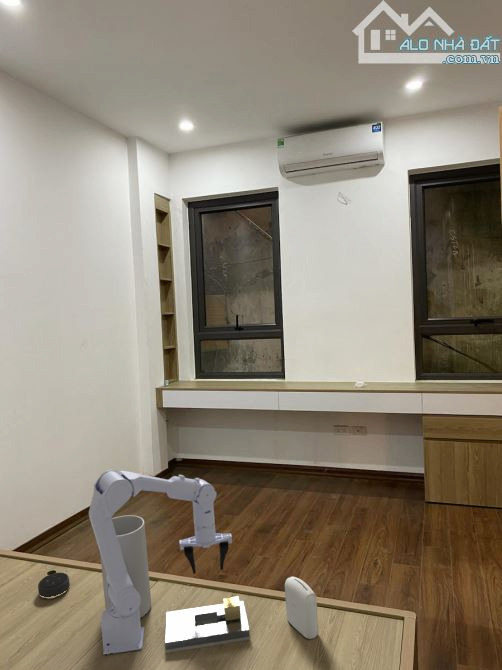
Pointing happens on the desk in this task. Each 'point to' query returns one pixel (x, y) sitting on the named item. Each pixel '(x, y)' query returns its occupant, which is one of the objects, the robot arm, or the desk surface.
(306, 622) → the photo printer
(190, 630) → the keyhole plate
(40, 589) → the smart speaker
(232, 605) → the brass peg
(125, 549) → the cylinder vase
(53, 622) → the desk surface
